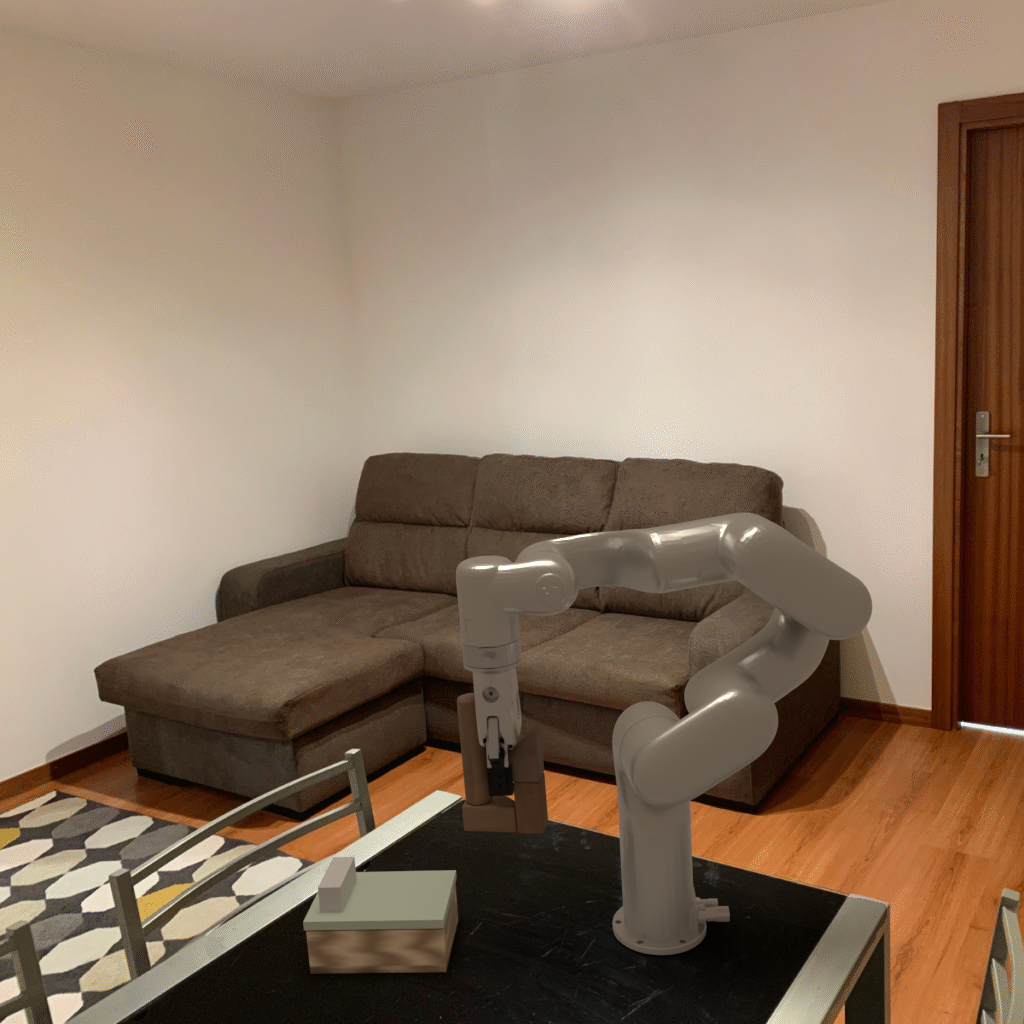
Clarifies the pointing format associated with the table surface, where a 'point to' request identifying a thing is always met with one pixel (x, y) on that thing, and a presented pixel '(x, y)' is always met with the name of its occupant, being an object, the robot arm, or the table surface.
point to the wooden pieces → (527, 778)
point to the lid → (380, 899)
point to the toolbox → (383, 948)
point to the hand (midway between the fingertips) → (503, 785)
